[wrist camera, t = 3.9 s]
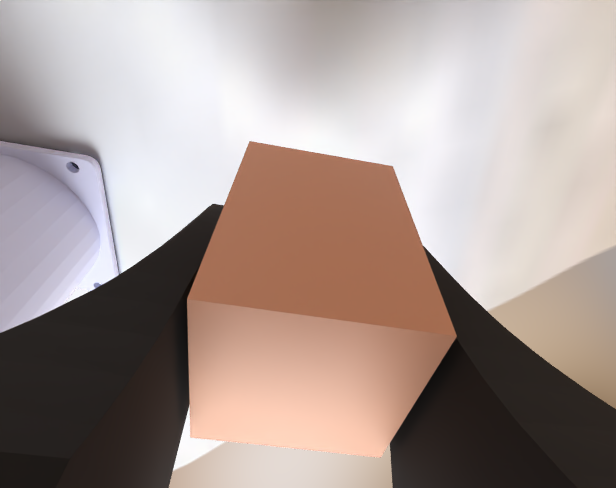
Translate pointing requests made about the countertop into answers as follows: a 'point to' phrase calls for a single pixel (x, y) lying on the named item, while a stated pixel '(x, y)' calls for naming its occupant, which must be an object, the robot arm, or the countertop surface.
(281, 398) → the terracotta block
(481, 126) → the countertop surface
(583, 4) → the countertop surface
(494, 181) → the countertop surface
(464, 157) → the countertop surface
